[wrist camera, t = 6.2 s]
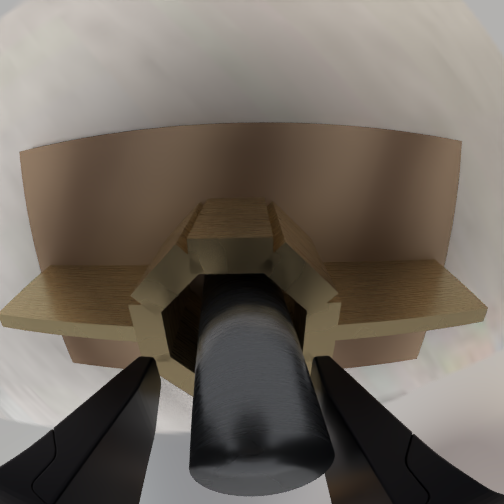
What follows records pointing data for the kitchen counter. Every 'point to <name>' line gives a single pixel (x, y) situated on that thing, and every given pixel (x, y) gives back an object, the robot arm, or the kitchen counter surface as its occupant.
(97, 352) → the walnut board
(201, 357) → the hinge pin
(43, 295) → the brass hinge
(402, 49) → the kitchen counter surface
